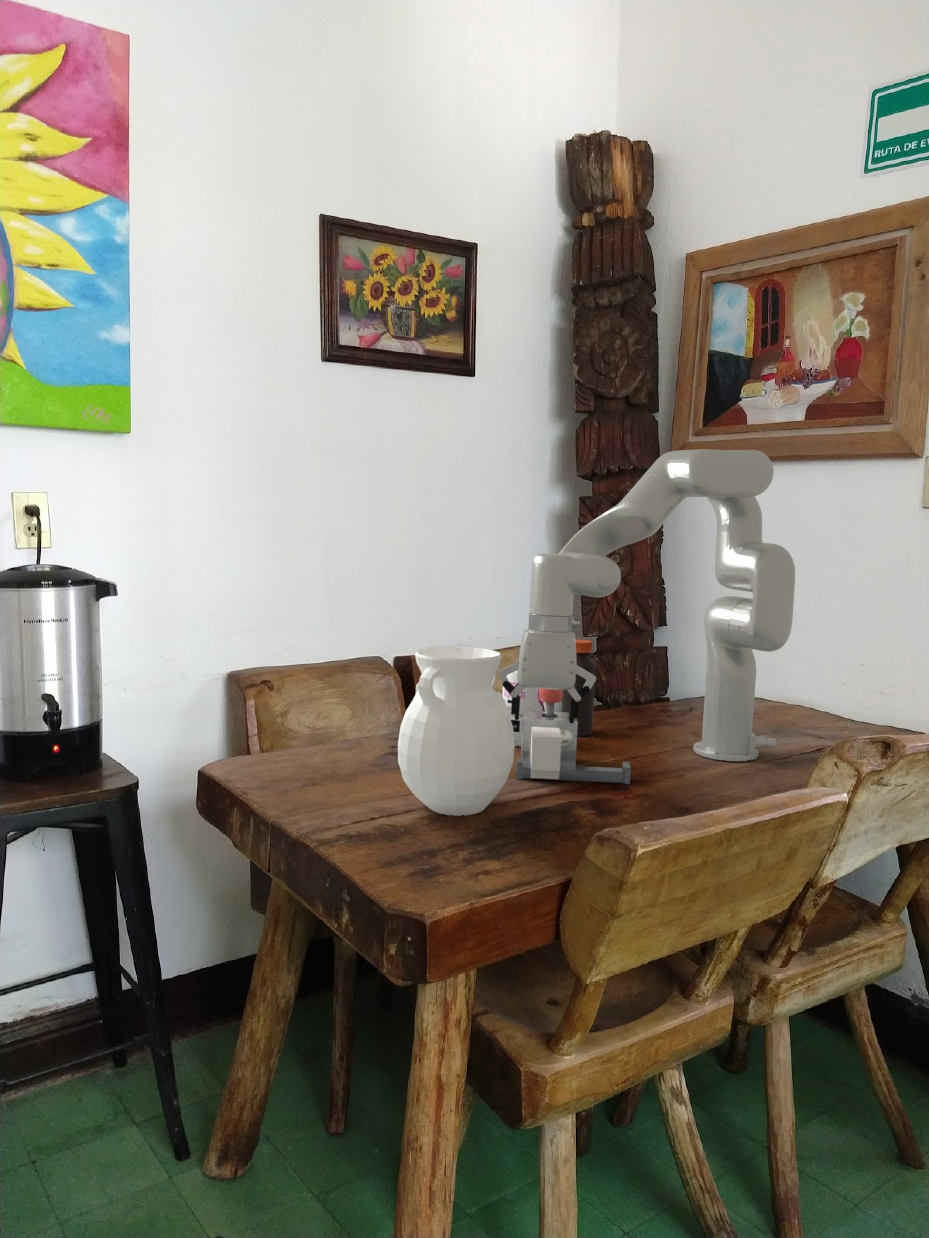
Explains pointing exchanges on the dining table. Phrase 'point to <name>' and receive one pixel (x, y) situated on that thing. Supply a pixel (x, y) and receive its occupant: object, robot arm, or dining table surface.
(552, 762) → the carriage
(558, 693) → the button
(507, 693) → the supplement can
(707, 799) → the dining table surface
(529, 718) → the grey box
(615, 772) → the rail
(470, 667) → the pitcher
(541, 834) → the dining table surface
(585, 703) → the bottle
